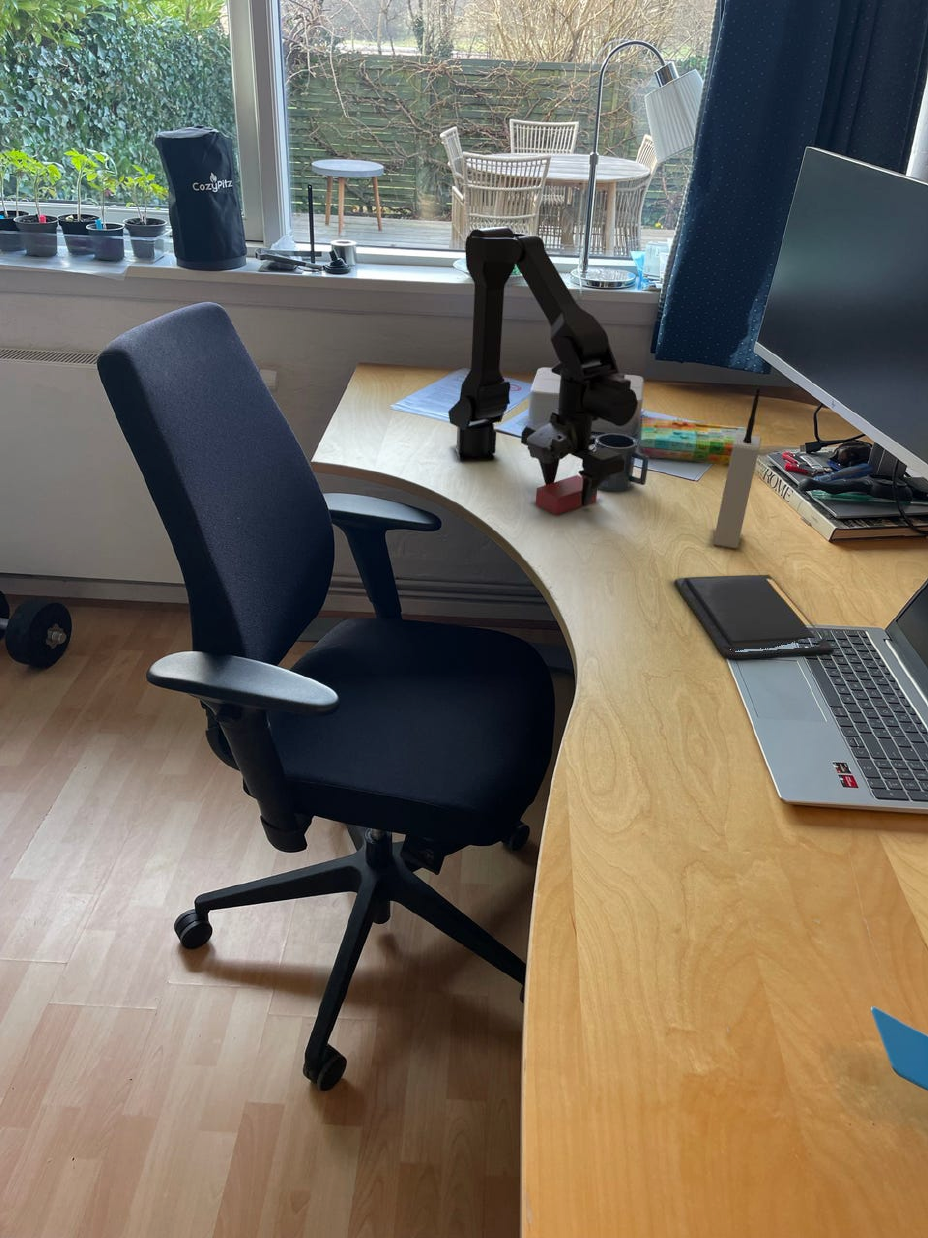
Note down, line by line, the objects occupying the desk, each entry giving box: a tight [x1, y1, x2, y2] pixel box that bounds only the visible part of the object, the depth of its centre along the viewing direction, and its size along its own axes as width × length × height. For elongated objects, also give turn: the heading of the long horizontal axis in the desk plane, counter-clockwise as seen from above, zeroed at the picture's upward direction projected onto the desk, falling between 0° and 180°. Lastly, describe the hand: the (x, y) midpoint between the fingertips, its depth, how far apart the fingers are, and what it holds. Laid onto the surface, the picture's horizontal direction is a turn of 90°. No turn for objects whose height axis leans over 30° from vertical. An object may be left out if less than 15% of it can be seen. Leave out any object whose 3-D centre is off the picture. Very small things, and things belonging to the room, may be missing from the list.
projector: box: [527, 367, 645, 438], centre depth 188 cm, size 17×22×8 cm
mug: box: [594, 433, 650, 493], centre depth 160 cm, size 10×7×8 cm
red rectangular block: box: [535, 474, 599, 516], centre depth 154 cm, size 10×5×3 cm, turn 129°
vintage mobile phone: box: [712, 386, 762, 550], centre depth 139 cm, size 4×5×25 cm
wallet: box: [673, 574, 834, 660], centre depth 126 cm, size 20×2×15 cm
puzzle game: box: [640, 416, 747, 465], centre depth 175 cm, size 12×5×20 cm
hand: (566, 496), depth 155 cm, fingers open, 8 cm apart
